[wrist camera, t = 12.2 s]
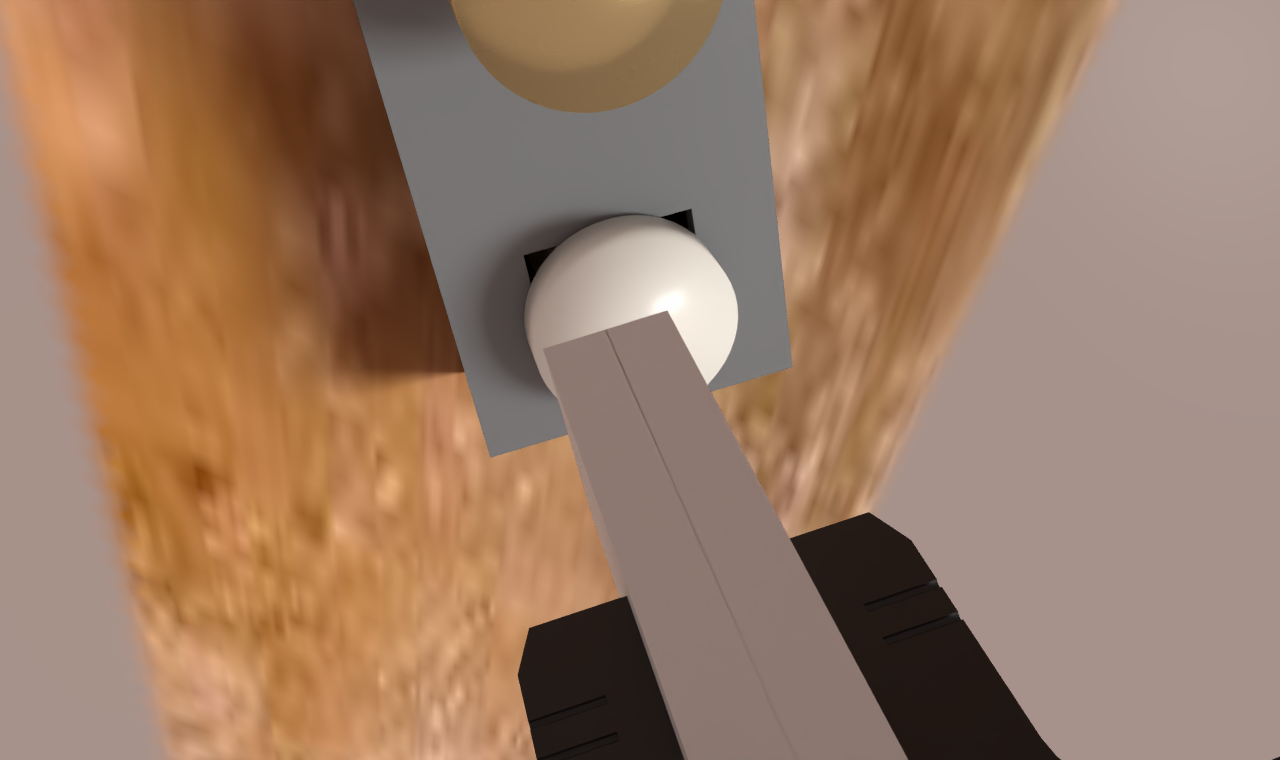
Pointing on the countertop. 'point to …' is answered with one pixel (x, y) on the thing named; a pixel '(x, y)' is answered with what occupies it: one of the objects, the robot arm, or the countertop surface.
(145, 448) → the countertop surface
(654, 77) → the brass knob
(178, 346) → the countertop surface
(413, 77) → the console
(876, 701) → the robot arm
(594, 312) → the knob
